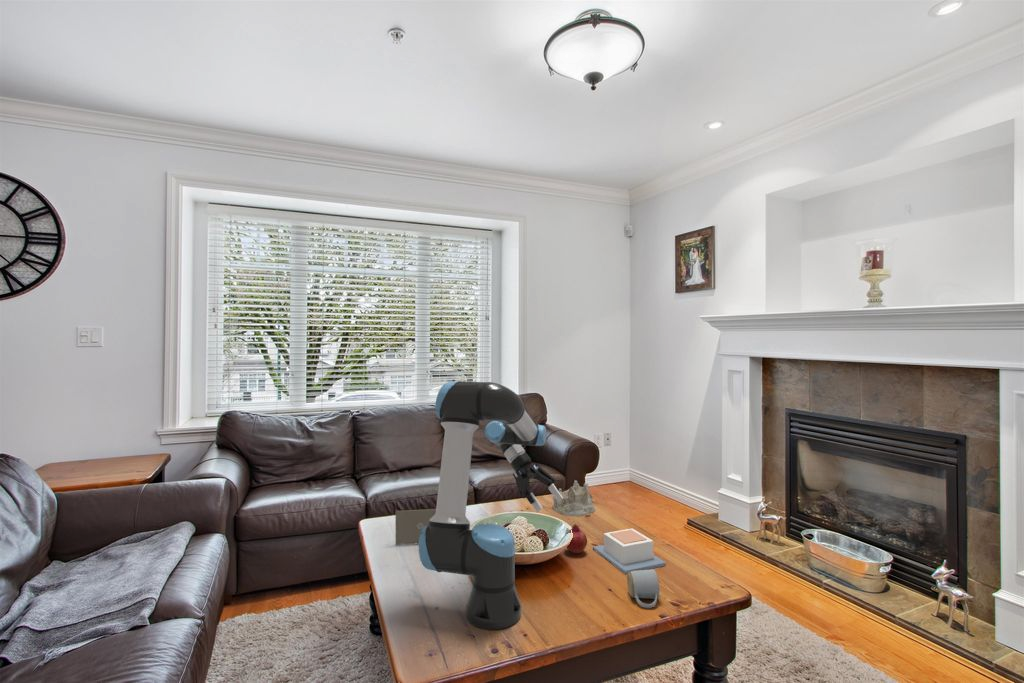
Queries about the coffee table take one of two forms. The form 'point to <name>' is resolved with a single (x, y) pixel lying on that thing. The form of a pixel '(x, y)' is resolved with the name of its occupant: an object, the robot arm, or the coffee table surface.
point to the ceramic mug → (643, 586)
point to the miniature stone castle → (575, 501)
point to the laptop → (411, 525)
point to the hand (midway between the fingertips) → (550, 505)
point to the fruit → (577, 540)
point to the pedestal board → (632, 565)
